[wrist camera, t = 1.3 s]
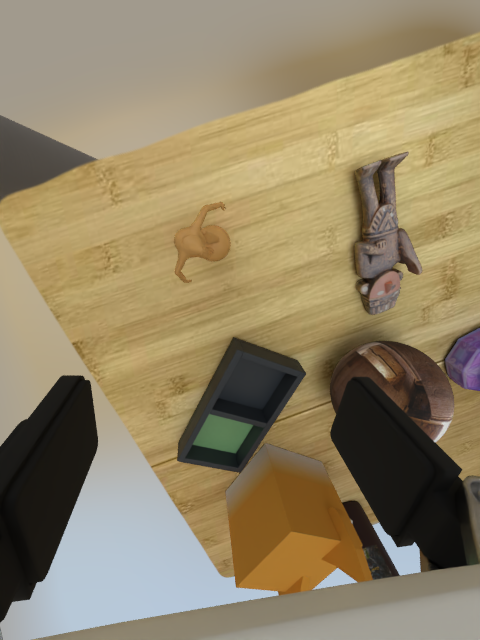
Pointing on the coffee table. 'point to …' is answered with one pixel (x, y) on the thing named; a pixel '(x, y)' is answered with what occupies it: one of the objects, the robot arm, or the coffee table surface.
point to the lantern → (465, 361)
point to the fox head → (289, 525)
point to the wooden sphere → (400, 382)
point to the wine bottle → (370, 543)
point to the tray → (239, 406)
